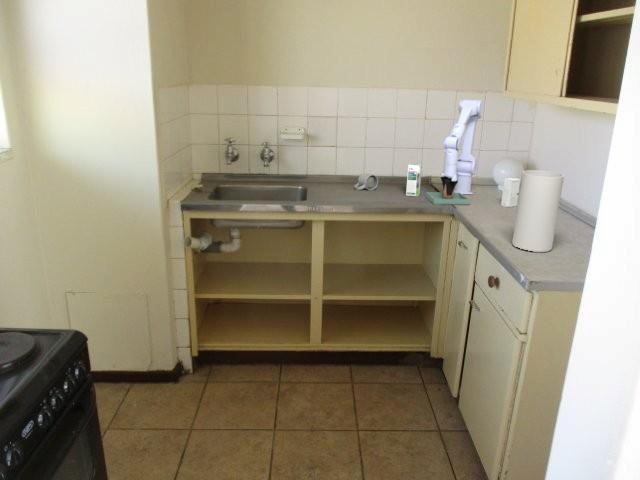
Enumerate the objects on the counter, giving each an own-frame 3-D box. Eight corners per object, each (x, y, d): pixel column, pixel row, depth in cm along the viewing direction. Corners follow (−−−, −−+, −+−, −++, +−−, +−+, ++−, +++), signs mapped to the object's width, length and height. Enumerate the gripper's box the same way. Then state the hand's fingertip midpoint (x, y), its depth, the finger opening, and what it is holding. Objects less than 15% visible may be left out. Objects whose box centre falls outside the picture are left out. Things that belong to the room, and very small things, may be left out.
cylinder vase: (557, 247, 176) (570, 174, 169) (541, 255, 168) (554, 179, 160) (522, 239, 185) (532, 168, 177) (505, 246, 177) (515, 172, 169)
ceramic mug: (368, 186, 265) (368, 171, 262) (378, 189, 258) (378, 174, 256) (350, 188, 259) (351, 173, 257) (360, 191, 253) (361, 176, 250)
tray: (425, 197, 244) (426, 192, 243) (459, 197, 245) (459, 192, 244) (433, 204, 230) (434, 199, 230) (469, 205, 231) (469, 199, 231)
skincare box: (508, 207, 229) (512, 180, 225) (500, 205, 233) (503, 178, 229) (517, 205, 232) (521, 179, 229) (509, 203, 236) (512, 177, 232)
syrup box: (405, 195, 247) (407, 164, 242) (407, 193, 252) (410, 163, 247) (417, 196, 245) (420, 165, 240) (419, 194, 250) (422, 164, 246)
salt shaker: (441, 196, 239) (444, 181, 237) (451, 197, 240) (453, 182, 238) (444, 199, 235) (447, 183, 233) (454, 199, 235) (457, 184, 233)
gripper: (437, 161, 239) (434, 190, 243) (446, 166, 225) (443, 197, 229) (452, 161, 240) (449, 190, 244) (462, 166, 226) (459, 197, 230)
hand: (447, 193), depth 237 cm, fingers closed on salt shaker, 4 cm apart
